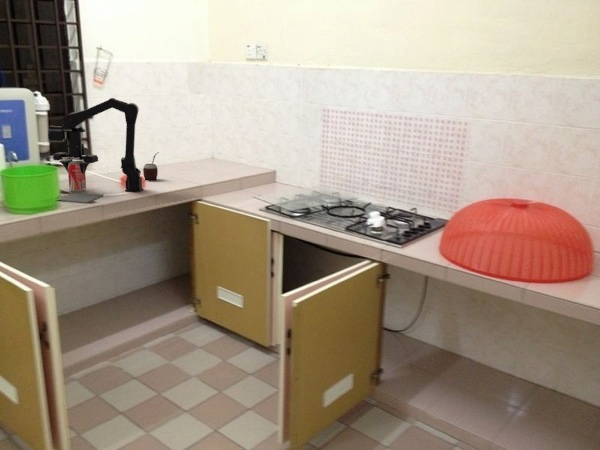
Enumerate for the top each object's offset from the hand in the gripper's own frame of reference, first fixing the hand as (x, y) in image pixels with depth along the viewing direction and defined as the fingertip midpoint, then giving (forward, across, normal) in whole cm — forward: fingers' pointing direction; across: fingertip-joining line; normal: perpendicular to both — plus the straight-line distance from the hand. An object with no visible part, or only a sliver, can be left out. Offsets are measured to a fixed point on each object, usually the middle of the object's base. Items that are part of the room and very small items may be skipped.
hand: (76, 176), depth 247 cm
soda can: (+7, 0, 0) cm, 7 cm away
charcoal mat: (+6, -8, +12) cm, 16 cm away
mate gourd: (+7, -21, -33) cm, 40 cm away
